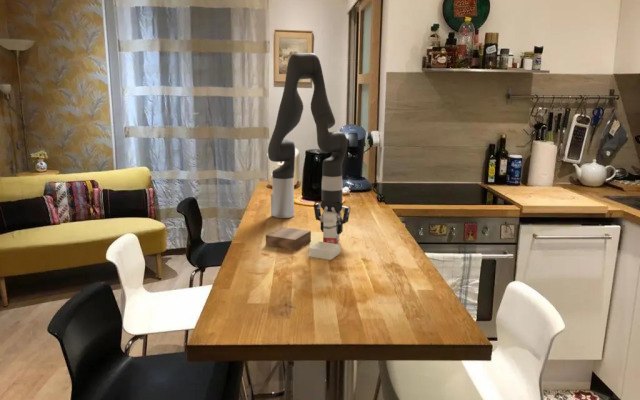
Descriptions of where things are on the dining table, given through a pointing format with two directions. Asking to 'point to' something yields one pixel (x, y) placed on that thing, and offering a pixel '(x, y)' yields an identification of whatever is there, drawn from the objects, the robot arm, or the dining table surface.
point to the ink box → (330, 227)
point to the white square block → (324, 250)
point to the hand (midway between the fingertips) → (331, 232)
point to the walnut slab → (288, 238)
